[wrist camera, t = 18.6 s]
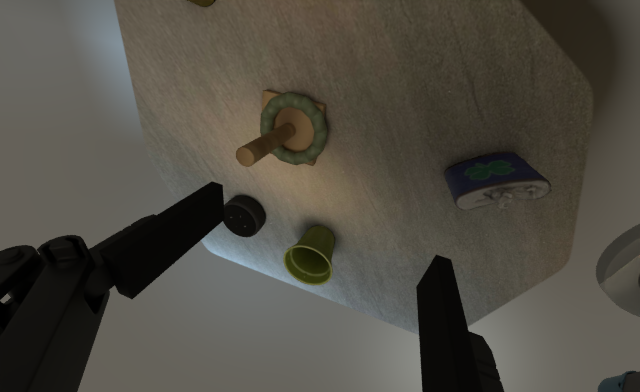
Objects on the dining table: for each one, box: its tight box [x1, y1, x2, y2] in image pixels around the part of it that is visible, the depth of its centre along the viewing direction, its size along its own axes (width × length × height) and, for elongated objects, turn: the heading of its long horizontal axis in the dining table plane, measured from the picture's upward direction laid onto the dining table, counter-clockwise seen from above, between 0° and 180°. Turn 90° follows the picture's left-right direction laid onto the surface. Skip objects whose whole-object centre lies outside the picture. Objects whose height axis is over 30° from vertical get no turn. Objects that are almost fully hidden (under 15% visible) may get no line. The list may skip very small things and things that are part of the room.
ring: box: [260, 92, 327, 165], centre depth 37 cm, size 11×11×2 cm
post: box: [236, 90, 326, 167], centre depth 33 cm, size 10×10×14 cm
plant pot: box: [283, 226, 335, 285], centre depth 46 cm, size 9×9×9 cm
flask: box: [445, 151, 552, 210], centre depth 29 cm, size 9×3×11 cm, turn 114°
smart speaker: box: [223, 196, 265, 237], centre depth 50 cm, size 9×9×4 cm
